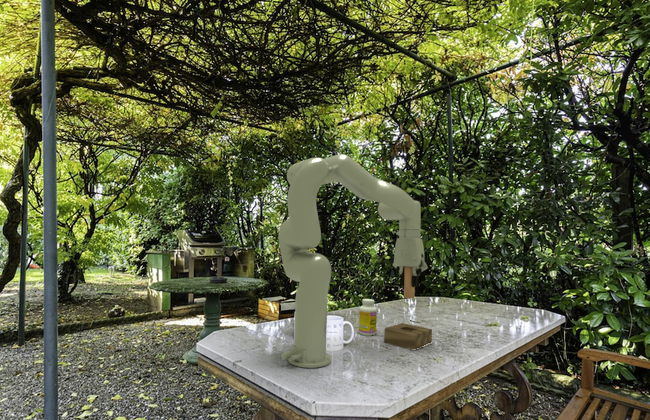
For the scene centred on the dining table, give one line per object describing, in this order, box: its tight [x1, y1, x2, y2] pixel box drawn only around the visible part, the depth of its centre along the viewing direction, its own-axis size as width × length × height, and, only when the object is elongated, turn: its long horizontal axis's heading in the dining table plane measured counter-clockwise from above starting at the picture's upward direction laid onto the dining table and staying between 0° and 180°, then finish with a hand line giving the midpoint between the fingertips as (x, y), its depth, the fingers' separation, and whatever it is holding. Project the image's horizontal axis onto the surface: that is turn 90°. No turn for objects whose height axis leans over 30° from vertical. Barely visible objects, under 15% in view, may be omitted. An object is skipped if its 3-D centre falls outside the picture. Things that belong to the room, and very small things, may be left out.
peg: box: [403, 266, 416, 299], centre depth 131 cm, size 4×4×12 cm
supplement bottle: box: [358, 298, 378, 337], centre depth 140 cm, size 7×7×13 cm
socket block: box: [383, 322, 433, 350], centre depth 129 cm, size 12×12×5 cm
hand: (409, 285), depth 131 cm, fingers closed on peg, 3 cm apart
